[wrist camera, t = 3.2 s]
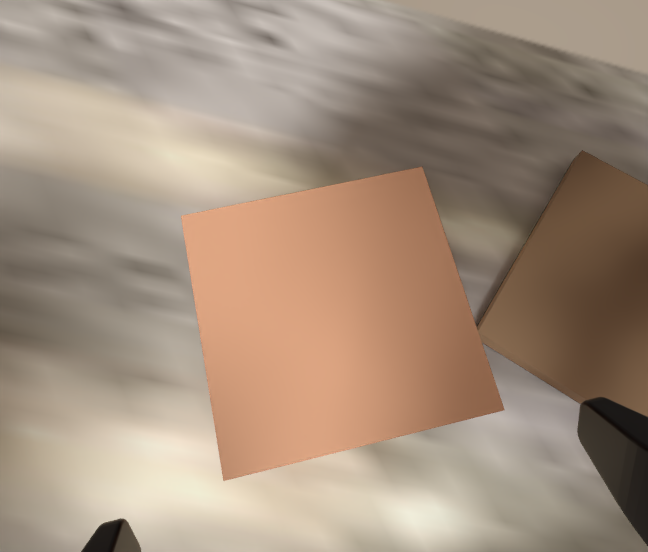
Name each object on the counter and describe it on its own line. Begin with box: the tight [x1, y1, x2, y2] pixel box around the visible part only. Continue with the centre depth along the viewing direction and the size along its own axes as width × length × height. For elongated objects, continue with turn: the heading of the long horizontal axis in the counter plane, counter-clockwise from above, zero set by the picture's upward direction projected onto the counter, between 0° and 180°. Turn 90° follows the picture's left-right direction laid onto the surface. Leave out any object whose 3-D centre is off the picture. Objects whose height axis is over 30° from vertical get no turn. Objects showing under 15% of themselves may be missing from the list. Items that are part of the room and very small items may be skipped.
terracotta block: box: [181, 167, 504, 481], centre depth 14 cm, size 4×4×12 cm
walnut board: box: [477, 150, 648, 417], centre depth 21 cm, size 10×10×1 cm
